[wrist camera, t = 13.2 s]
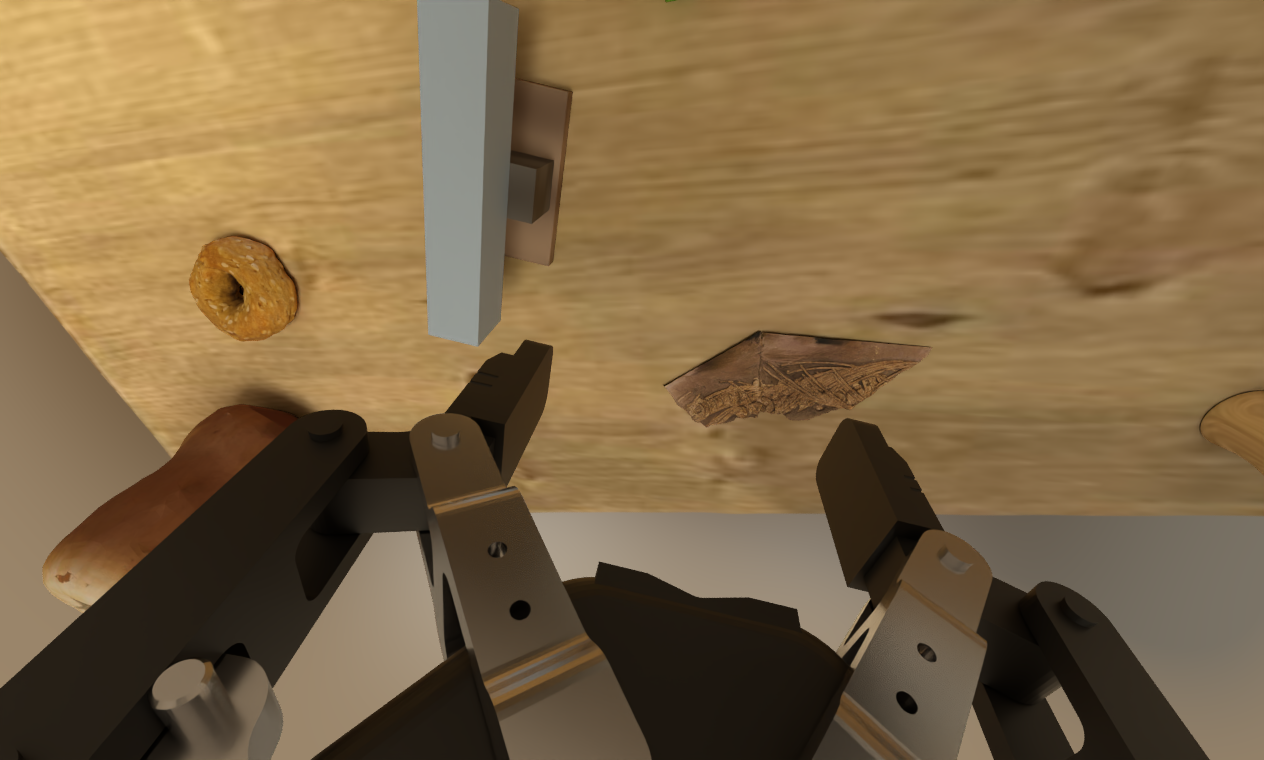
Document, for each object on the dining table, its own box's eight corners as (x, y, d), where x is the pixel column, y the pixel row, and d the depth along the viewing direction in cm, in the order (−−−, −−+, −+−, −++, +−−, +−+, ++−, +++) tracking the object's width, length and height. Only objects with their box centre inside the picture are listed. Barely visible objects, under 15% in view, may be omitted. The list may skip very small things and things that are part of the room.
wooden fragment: (672, 427, 54) (671, 433, 53) (655, 341, 48) (655, 346, 47) (921, 406, 48) (925, 412, 48) (933, 307, 43) (938, 311, 42)
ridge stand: (461, 64, 37) (420, 60, 32) (572, 91, 37) (550, 92, 32) (460, 238, 45) (427, 259, 39) (553, 261, 45) (532, 285, 39)
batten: (457, -7, 30) (416, -23, 25) (519, 8, 30) (488, -5, 25) (456, 309, 41) (428, 334, 37) (500, 320, 41) (477, 346, 37)
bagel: (312, 265, 48) (277, 282, 44) (296, 344, 54) (264, 365, 50) (215, 211, 47) (169, 223, 43) (208, 299, 52) (167, 316, 48)
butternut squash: (251, 450, 64) (30, 628, 43) (233, 370, 57) (-43, 536, 36) (351, 479, 65) (182, 669, 43) (346, 403, 57) (140, 586, 36)
